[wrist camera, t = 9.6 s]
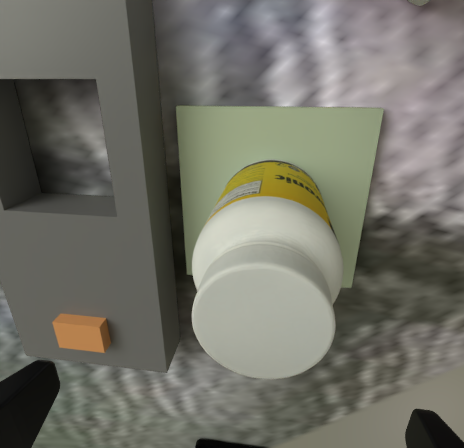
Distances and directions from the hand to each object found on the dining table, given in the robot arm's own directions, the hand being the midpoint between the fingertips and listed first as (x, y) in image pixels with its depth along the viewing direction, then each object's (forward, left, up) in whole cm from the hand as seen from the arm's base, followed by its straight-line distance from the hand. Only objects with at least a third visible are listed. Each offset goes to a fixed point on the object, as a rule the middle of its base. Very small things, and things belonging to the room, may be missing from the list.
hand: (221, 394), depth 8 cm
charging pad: (-1, -1, -12) cm, 12 cm away
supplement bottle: (-1, -1, -11) cm, 11 cm away
